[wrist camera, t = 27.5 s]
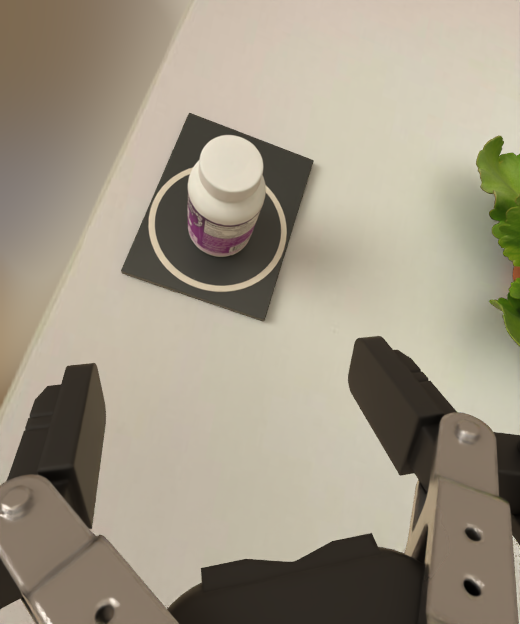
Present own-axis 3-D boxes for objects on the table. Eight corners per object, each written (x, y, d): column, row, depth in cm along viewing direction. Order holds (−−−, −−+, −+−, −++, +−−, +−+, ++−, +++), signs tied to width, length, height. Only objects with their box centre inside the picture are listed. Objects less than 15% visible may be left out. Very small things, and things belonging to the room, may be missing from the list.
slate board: (263, 321, 34) (264, 319, 33) (121, 273, 33) (120, 270, 32) (311, 163, 38) (314, 159, 38) (189, 117, 37) (189, 111, 37)
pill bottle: (186, 198, 34) (187, 120, 25) (249, 201, 35) (271, 126, 26) (187, 259, 33) (188, 199, 24) (252, 260, 34) (277, 203, 25)
